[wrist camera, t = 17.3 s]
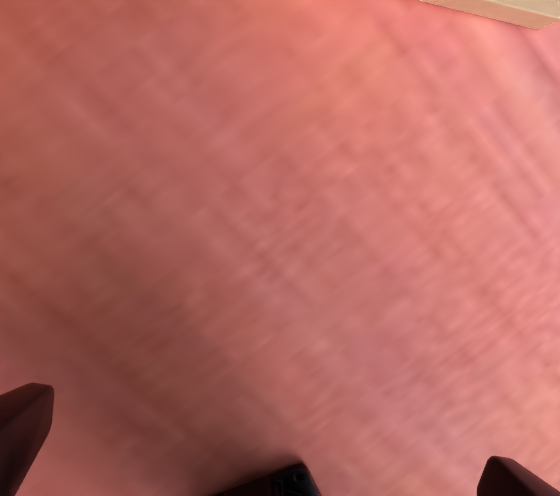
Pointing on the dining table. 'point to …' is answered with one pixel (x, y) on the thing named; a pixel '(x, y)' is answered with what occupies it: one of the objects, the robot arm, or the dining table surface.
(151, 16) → the dining table surface
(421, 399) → the dining table surface
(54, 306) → the dining table surface
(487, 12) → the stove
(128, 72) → the dining table surface
